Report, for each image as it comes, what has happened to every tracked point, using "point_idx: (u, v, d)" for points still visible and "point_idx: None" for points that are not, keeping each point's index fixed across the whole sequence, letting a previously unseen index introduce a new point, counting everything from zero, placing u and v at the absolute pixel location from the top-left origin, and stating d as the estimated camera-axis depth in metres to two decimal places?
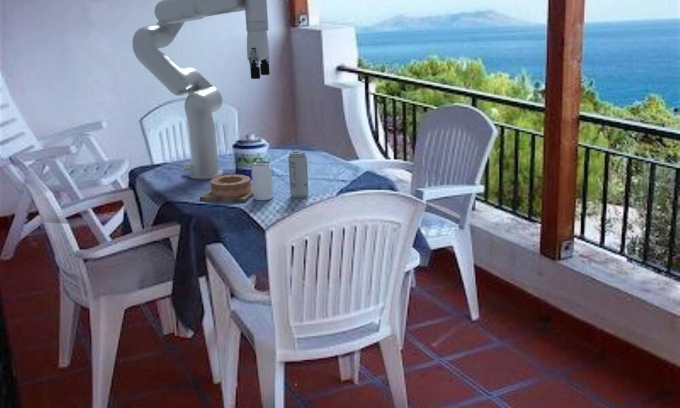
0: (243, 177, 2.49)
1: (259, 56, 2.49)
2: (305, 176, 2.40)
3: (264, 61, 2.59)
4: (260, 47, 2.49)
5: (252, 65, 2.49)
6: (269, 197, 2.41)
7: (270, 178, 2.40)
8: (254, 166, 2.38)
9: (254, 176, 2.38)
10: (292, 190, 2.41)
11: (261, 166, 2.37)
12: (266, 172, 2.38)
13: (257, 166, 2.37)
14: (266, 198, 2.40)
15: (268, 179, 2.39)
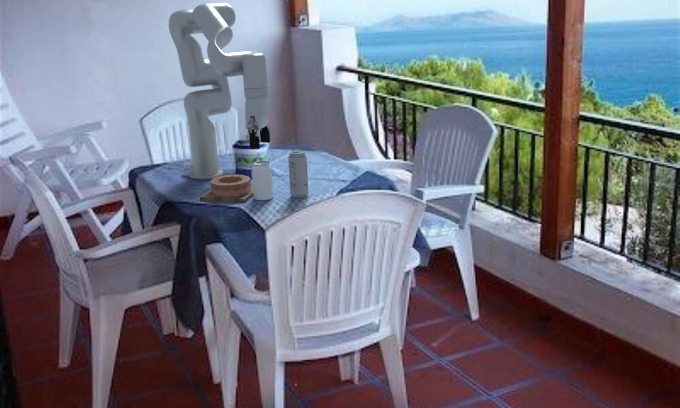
0: (243, 177, 2.49)
1: (258, 125, 2.31)
2: (305, 176, 2.40)
3: (264, 128, 2.41)
4: (259, 115, 2.31)
5: (251, 135, 2.30)
6: (269, 197, 2.41)
7: (270, 178, 2.40)
8: (254, 166, 2.38)
9: (254, 176, 2.38)
10: (292, 190, 2.41)
11: (261, 166, 2.37)
12: (266, 172, 2.38)
13: (257, 166, 2.37)
14: (266, 198, 2.40)
15: (268, 179, 2.39)
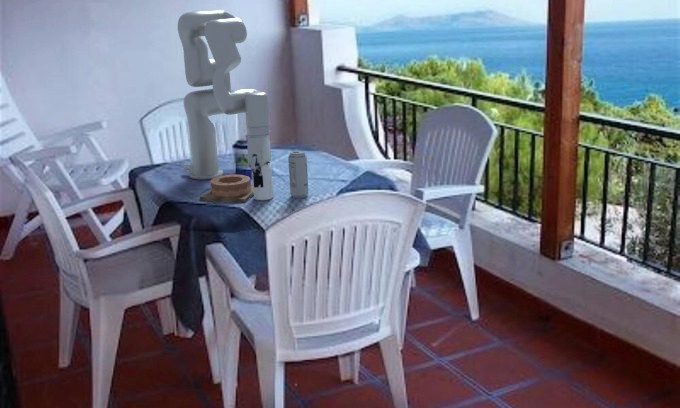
0: (243, 177, 2.49)
1: (260, 163, 2.35)
2: (305, 176, 2.40)
3: None
4: (262, 153, 2.34)
5: (255, 174, 2.36)
6: (269, 197, 2.41)
7: (270, 178, 2.40)
8: None
9: None
10: (292, 190, 2.41)
11: None
12: (266, 172, 2.38)
13: None
14: (266, 198, 2.40)
15: (268, 179, 2.39)
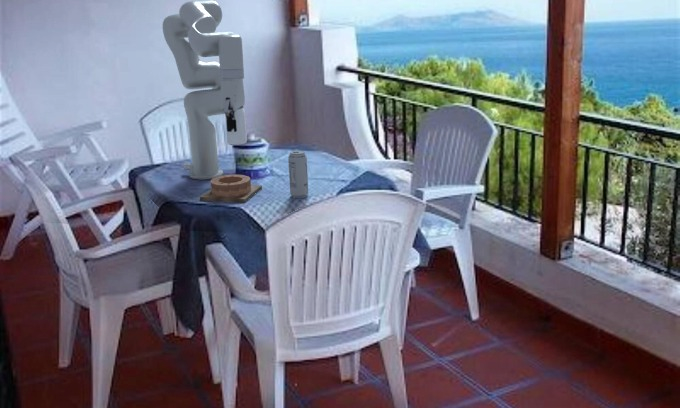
0: (243, 177, 2.49)
1: (234, 106, 2.33)
2: (305, 176, 2.40)
3: None
4: (235, 97, 2.33)
5: (228, 118, 2.34)
6: (243, 142, 2.39)
7: (244, 122, 2.38)
8: None
9: None
10: (292, 190, 2.41)
11: None
12: (239, 116, 2.36)
13: None
14: (240, 143, 2.39)
15: (242, 123, 2.37)
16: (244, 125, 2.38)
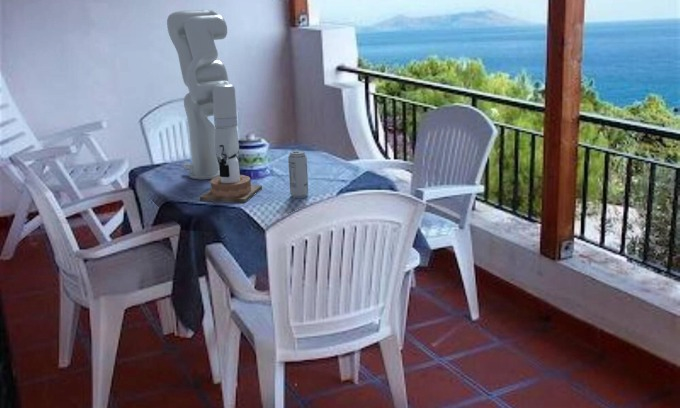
0: (243, 177, 2.49)
1: (227, 153, 2.39)
2: (305, 176, 2.40)
3: None
4: (228, 144, 2.39)
5: (221, 164, 2.39)
6: None
7: (237, 171, 2.44)
8: None
9: None
10: (292, 190, 2.41)
11: None
12: (232, 165, 2.42)
13: None
14: None
15: (235, 172, 2.43)
16: (237, 174, 2.44)
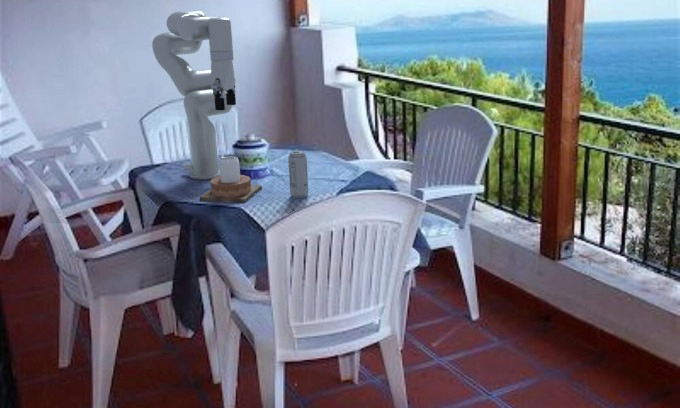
0: (243, 177, 2.49)
1: (223, 87, 2.41)
2: (305, 176, 2.40)
3: (230, 91, 2.51)
4: (224, 78, 2.41)
5: (216, 96, 2.40)
6: None
7: (237, 171, 2.44)
8: (221, 159, 2.43)
9: (221, 169, 2.43)
10: (292, 190, 2.41)
11: (228, 159, 2.42)
12: (233, 165, 2.42)
13: (224, 159, 2.42)
14: None
15: (235, 172, 2.43)
16: (238, 174, 2.45)
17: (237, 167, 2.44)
